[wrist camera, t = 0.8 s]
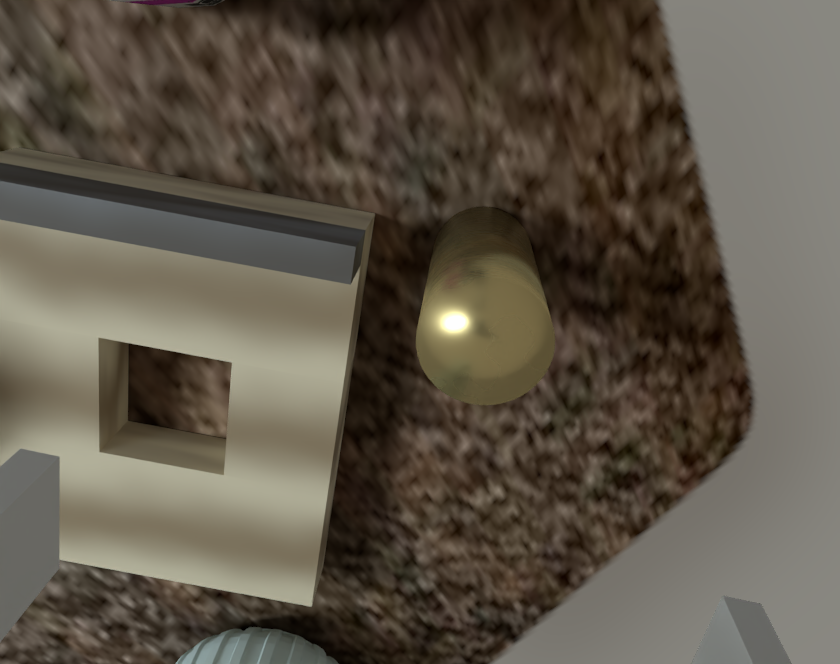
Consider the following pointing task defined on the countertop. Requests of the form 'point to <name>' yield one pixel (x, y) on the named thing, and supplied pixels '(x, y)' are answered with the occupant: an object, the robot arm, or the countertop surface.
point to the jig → (190, 334)
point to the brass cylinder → (484, 311)
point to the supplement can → (175, 2)
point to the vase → (255, 649)
